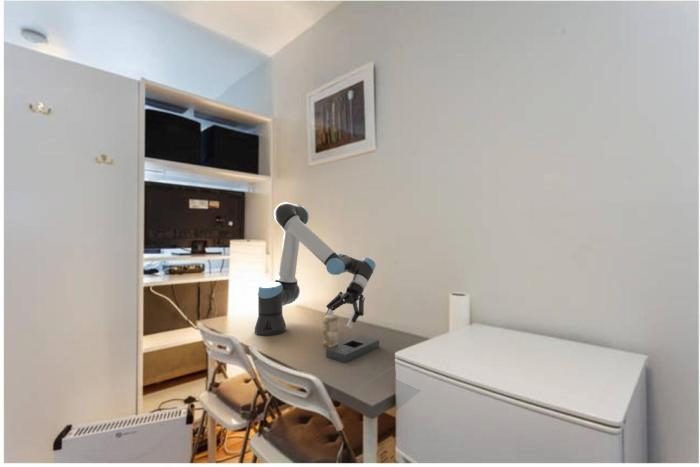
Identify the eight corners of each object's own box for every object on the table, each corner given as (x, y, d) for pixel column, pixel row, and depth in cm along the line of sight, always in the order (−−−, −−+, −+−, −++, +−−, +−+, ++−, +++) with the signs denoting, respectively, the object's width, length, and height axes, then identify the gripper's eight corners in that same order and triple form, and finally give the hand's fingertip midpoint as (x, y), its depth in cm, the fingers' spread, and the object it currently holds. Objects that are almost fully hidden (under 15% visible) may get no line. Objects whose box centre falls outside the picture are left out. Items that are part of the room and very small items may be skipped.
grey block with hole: (326, 356, 123) (326, 348, 123) (360, 342, 140) (360, 335, 140) (345, 363, 117) (345, 354, 117) (379, 347, 134) (379, 339, 134)
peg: (323, 344, 136) (323, 317, 137) (330, 342, 140) (330, 315, 140) (330, 347, 134) (330, 318, 134) (337, 344, 137) (337, 316, 137)
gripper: (382, 294, 144) (362, 335, 132) (340, 288, 160) (320, 325, 148) (375, 283, 140) (354, 325, 128) (333, 279, 155) (311, 316, 144)
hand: (336, 325), depth 138 cm, fingers open, 13 cm apart
